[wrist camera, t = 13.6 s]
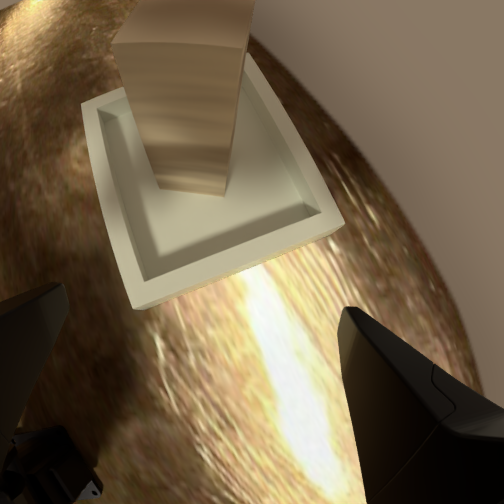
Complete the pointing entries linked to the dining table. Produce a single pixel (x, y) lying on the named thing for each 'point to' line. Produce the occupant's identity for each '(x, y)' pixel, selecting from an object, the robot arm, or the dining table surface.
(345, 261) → the dining table surface
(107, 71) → the dining table surface
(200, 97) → the birch block
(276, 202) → the tray
